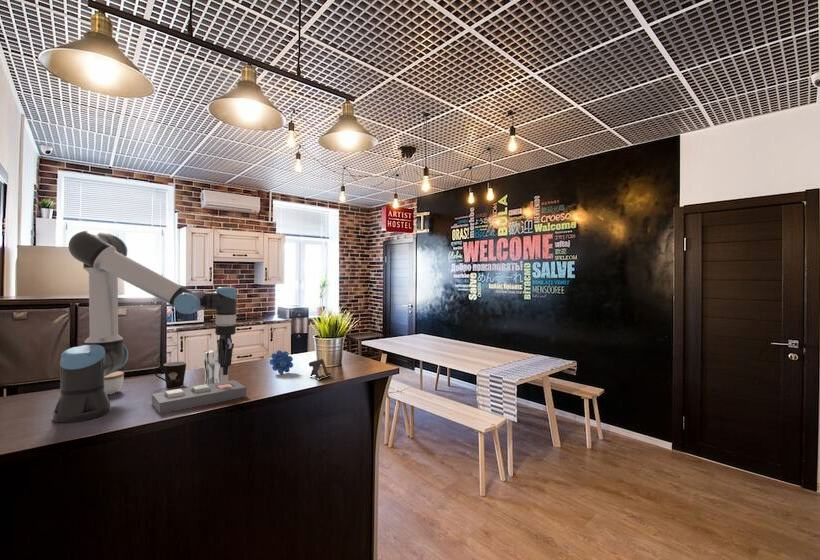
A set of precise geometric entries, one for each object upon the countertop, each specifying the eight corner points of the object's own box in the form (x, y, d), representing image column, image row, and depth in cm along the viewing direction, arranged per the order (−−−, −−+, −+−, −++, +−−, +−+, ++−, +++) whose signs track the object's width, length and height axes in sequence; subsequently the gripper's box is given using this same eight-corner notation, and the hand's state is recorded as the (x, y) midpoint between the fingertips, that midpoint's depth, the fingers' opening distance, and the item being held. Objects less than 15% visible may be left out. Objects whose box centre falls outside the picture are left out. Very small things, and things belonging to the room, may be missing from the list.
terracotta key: (220, 395, 152) (220, 388, 152) (216, 392, 156) (216, 385, 156) (233, 393, 156) (233, 386, 156) (229, 390, 159) (229, 383, 159)
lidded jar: (130, 390, 161) (130, 368, 161) (103, 398, 151) (104, 374, 151) (111, 388, 164) (111, 366, 164) (83, 395, 153) (84, 372, 153)
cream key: (168, 401, 140) (168, 394, 140) (165, 398, 143) (165, 391, 143) (183, 398, 143) (183, 391, 143) (180, 395, 147) (180, 388, 147)
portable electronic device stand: (319, 381, 180) (319, 363, 180) (306, 379, 184) (306, 361, 184) (331, 376, 188) (331, 360, 188) (318, 375, 192) (318, 358, 191)
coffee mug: (190, 383, 172) (190, 361, 172) (177, 389, 163) (177, 366, 163) (166, 382, 173) (166, 360, 173) (152, 388, 165) (152, 365, 165)
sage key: (195, 396, 146) (195, 389, 146) (191, 393, 150) (192, 386, 150) (209, 394, 150) (209, 387, 150) (205, 391, 153) (205, 384, 153)
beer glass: (222, 383, 173) (223, 351, 173) (206, 386, 168) (206, 353, 168) (217, 380, 178) (217, 348, 178) (200, 383, 173) (201, 350, 172)
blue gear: (271, 377, 186) (271, 352, 186) (268, 373, 192) (268, 350, 192) (295, 374, 192) (295, 350, 192) (291, 371, 198) (292, 348, 198)
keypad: (159, 414, 134) (159, 403, 134) (151, 404, 144) (151, 393, 144) (246, 396, 155) (246, 387, 155) (234, 389, 165) (234, 380, 165)
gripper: (241, 325, 154) (239, 384, 154) (229, 322, 163) (228, 377, 163) (221, 327, 148) (219, 387, 148) (210, 323, 158) (209, 380, 158)
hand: (224, 382), depth 156 cm, fingers closed
